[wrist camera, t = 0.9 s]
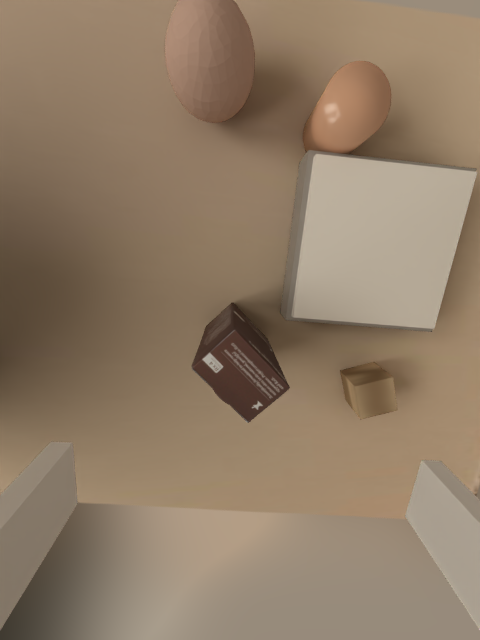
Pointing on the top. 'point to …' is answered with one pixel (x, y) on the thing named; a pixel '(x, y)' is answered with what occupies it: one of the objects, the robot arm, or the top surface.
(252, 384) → the box
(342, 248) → the podium
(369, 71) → the tan round piece
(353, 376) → the oak block
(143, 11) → the top surface
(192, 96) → the egg
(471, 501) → the robot arm
